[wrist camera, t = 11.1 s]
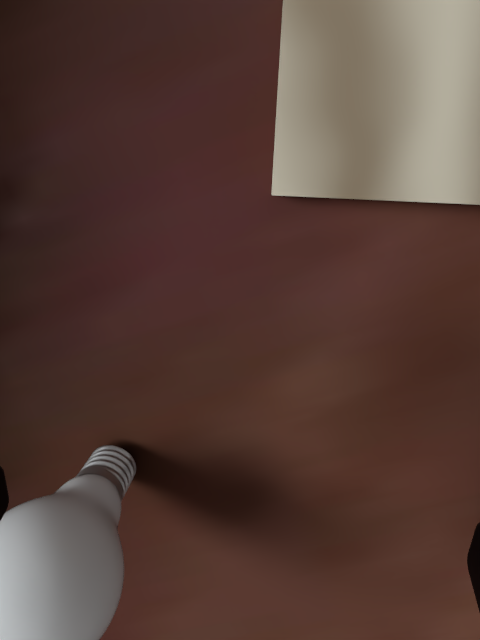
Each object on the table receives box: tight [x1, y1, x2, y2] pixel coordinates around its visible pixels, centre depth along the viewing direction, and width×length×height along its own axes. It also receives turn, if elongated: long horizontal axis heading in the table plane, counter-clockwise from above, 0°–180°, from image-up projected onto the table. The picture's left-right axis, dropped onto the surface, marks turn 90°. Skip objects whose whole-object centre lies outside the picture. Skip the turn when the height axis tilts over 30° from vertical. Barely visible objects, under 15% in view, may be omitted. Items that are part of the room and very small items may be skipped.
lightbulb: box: [0, 445, 136, 640], centre depth 19 cm, size 6×6×11 cm
